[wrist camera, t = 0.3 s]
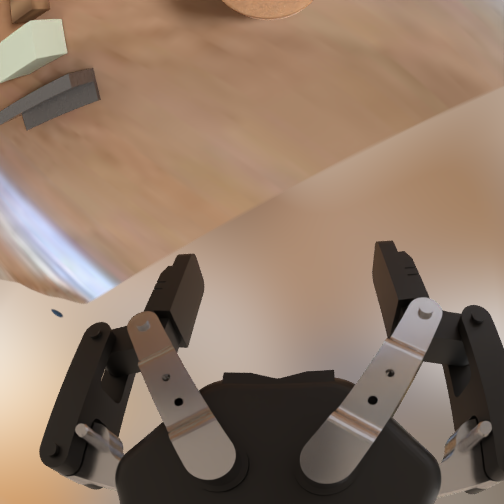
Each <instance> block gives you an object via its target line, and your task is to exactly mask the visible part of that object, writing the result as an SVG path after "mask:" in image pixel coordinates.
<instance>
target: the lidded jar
mask: <svg viewBox="0 0 504 504" xmlns="http://www.w3.org/2000/svg"><path fill="white" fill-rule="evenodd" d="M222 1H223V2H224V3H225V4H226V5H227V6H229V7H230V8H231V9H233V10H234V11H236V12H238V13H240V14H243V15H245V16H248V17H251V18H255V19H261V20H277V19H283V18H286V17H290V16H292V15H294V14H297V13H298V12H300V11H301V10H303V9H304V8H305V7H307V6H308V5H309V4H310V3H311V2H312V1H313V0H222Z"/></svg>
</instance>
